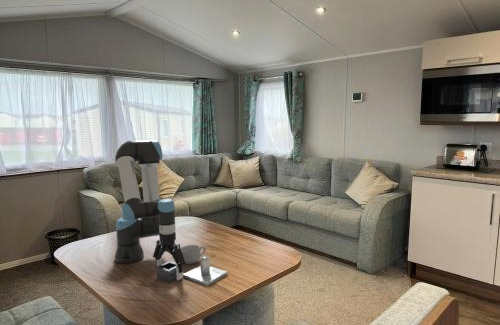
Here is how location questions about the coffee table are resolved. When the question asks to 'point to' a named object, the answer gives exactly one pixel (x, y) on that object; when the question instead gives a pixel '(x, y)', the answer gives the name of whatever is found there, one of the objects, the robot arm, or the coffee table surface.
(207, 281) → the grey plate with post
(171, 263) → the grey square hollow block
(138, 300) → the coffee table surface
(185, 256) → the teacup
